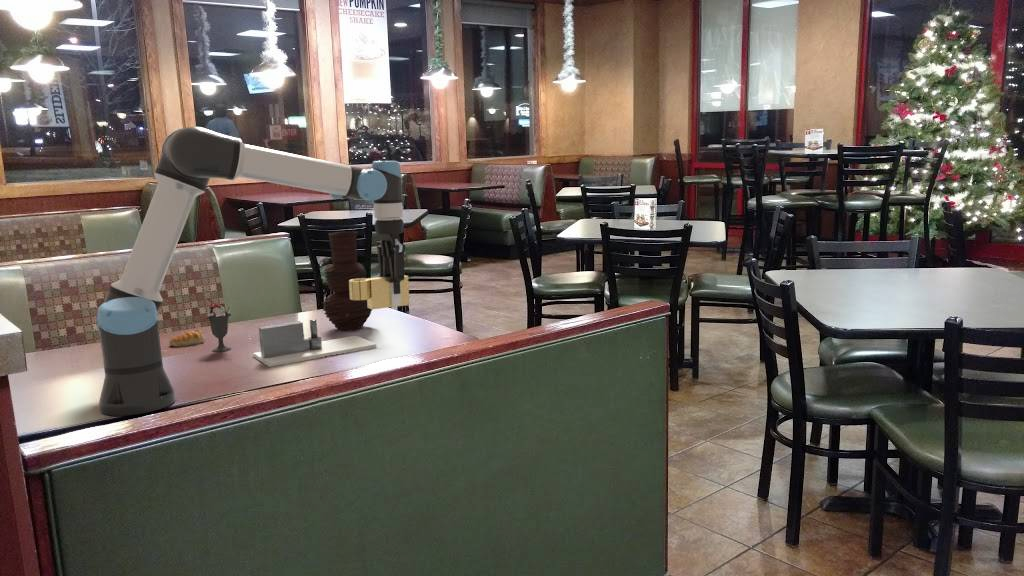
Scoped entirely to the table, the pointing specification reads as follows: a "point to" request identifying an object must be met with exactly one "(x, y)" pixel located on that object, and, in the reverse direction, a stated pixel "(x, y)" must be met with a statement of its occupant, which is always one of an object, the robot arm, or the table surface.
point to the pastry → (187, 338)
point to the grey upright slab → (287, 339)
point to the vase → (344, 284)
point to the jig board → (320, 351)
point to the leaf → (377, 291)
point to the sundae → (218, 324)
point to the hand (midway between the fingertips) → (393, 304)
